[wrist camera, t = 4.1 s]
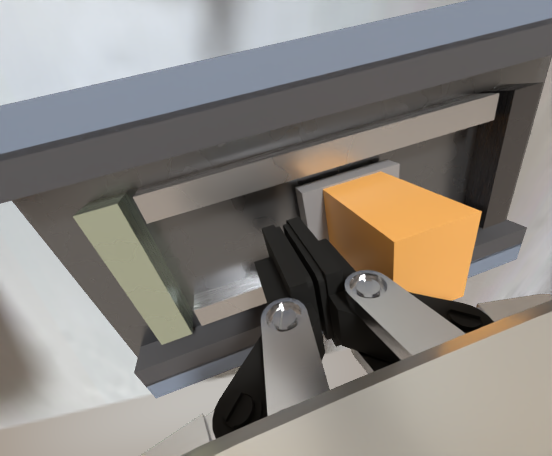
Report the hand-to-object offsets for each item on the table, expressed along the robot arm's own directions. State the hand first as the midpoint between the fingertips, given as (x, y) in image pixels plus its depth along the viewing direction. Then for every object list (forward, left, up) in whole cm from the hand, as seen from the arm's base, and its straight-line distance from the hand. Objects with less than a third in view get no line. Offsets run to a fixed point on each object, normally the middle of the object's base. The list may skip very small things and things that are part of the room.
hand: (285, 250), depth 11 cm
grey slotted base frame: (-3, 0, -4) cm, 5 cm away
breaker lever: (-4, 0, -2) cm, 5 cm away
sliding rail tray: (-3, 0, -3) cm, 4 cm away
